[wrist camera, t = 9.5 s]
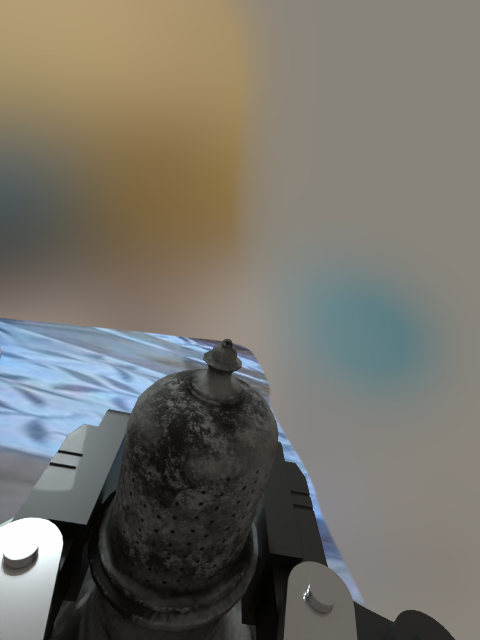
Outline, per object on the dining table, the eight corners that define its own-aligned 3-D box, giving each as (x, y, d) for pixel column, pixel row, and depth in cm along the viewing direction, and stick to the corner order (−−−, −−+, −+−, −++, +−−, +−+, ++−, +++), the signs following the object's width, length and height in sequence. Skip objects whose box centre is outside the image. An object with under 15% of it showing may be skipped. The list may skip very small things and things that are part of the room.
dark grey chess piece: (268, 701, 11) (429, 370, 7) (105, 1036, 6) (314, 614, 2) (142, 568, 14) (207, 274, 10) (-36, 732, 9) (-53, 296, 5)
